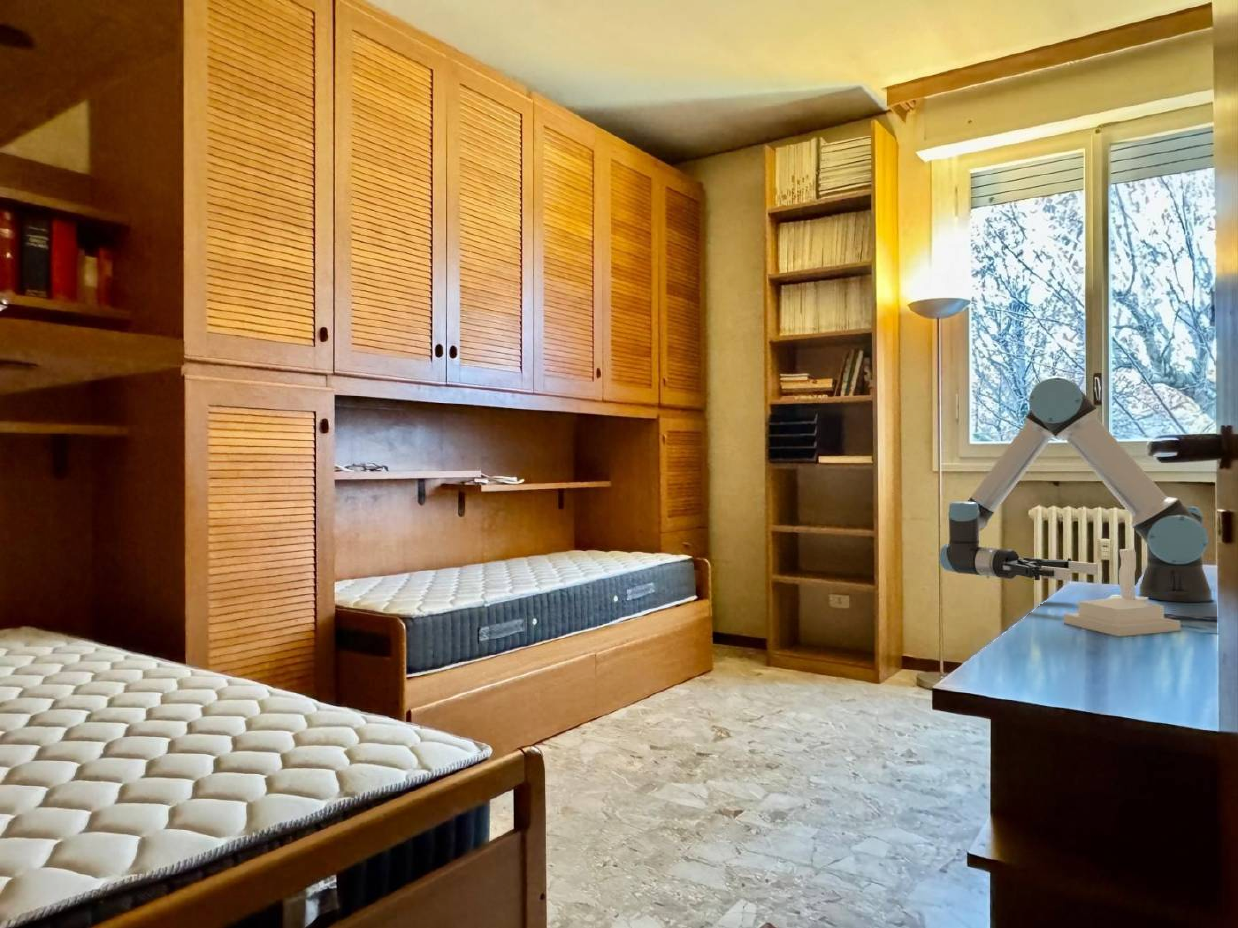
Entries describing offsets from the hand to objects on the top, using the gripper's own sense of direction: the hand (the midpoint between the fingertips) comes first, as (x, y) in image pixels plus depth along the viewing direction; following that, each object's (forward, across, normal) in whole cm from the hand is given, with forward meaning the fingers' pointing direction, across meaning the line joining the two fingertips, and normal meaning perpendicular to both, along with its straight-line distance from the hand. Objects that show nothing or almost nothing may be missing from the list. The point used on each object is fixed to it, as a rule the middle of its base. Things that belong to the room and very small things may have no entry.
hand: (1083, 572), depth 193 cm
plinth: (+15, +16, -9) cm, 23 cm away
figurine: (+10, 0, -9) cm, 13 cm away
